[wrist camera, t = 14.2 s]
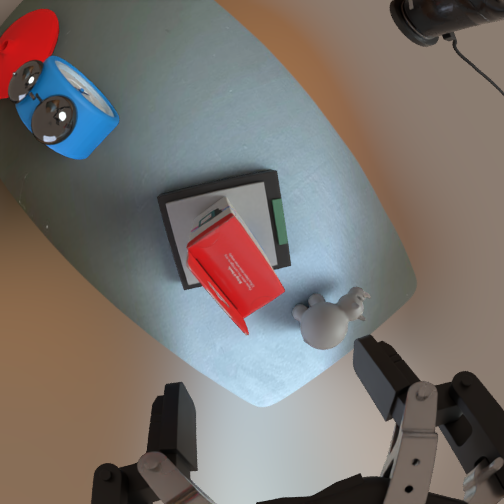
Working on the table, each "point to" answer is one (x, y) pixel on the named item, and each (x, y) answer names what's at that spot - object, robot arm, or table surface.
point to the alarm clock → (61, 106)
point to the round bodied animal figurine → (329, 318)
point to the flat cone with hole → (26, 43)
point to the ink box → (231, 263)
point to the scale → (246, 204)
